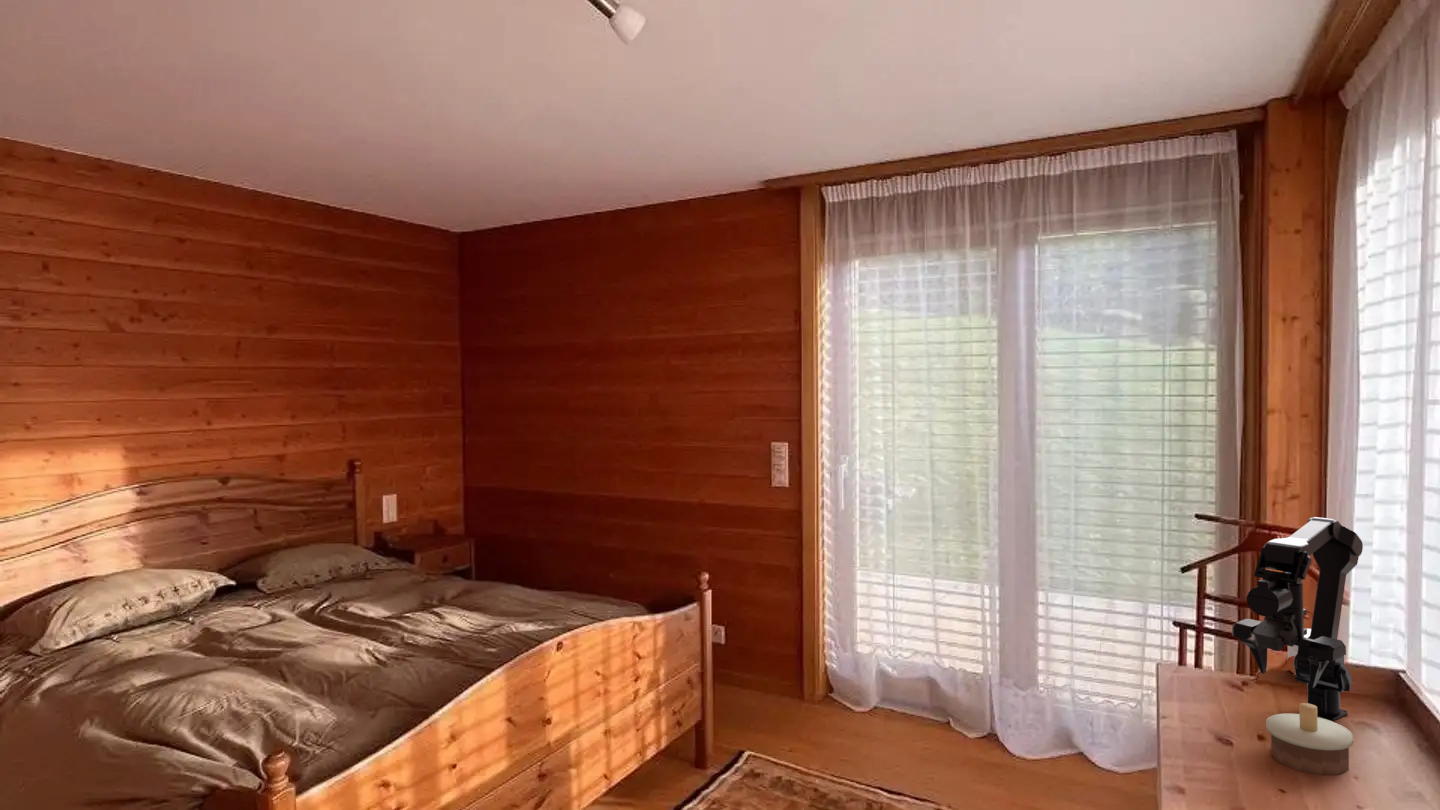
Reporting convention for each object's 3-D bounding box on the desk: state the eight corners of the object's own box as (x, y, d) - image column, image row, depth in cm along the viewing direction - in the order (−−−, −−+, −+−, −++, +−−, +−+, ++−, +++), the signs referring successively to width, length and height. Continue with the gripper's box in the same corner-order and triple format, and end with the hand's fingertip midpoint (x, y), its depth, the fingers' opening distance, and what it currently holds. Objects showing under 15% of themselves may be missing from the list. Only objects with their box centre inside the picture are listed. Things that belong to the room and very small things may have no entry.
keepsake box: (1292, 739, 169) (1292, 715, 169) (1360, 763, 159) (1360, 737, 158) (1258, 755, 164) (1258, 730, 163) (1327, 781, 153) (1326, 754, 153)
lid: (1289, 719, 170) (1289, 686, 170) (1367, 745, 158) (1367, 709, 158) (1251, 737, 164) (1251, 702, 163) (1329, 765, 152) (1329, 728, 151)
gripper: (1216, 602, 173) (1218, 676, 174) (1317, 625, 157) (1319, 706, 158) (1246, 591, 179) (1247, 662, 180) (1346, 612, 163) (1347, 690, 164)
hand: (1287, 679), depth 170 cm, fingers open, 9 cm apart
